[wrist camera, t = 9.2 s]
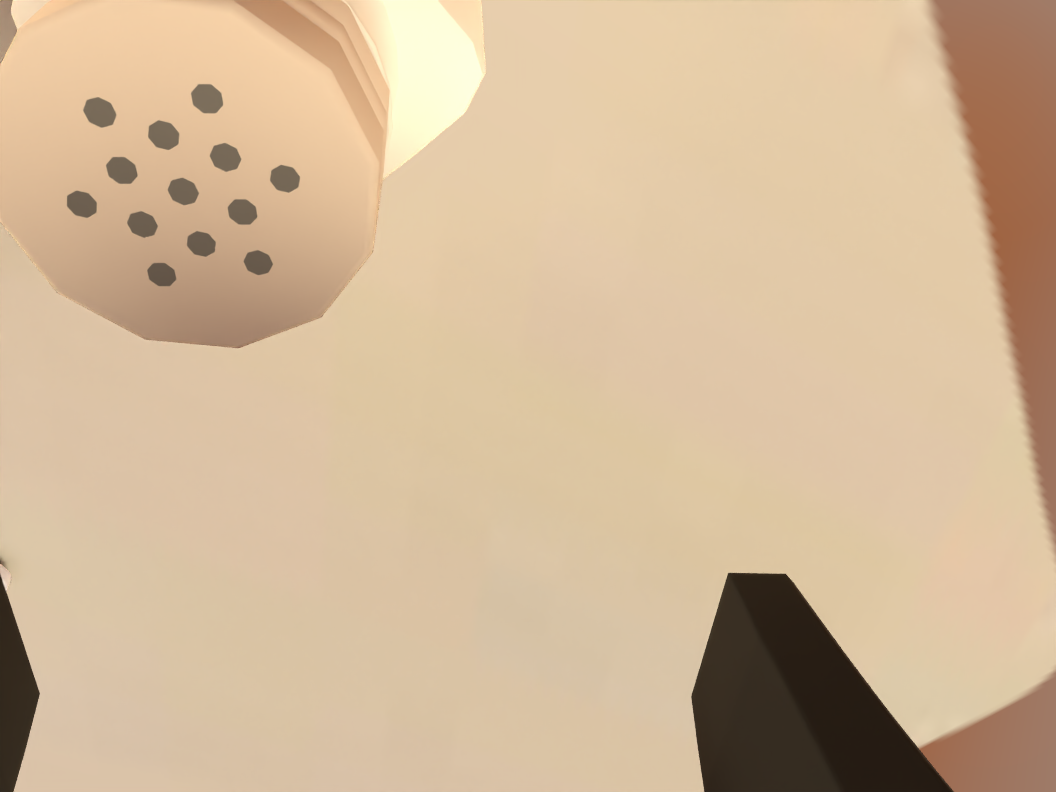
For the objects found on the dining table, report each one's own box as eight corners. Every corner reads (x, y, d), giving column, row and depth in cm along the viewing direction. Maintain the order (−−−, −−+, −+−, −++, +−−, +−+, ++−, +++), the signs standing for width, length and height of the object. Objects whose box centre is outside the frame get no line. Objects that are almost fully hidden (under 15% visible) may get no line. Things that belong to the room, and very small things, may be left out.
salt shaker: (493, -51, 16) (525, 229, 9) (309, 97, 17) (197, 454, 10) (319, -295, 14) (162, -207, 6) (125, -107, 15) (-193, 148, 8)
